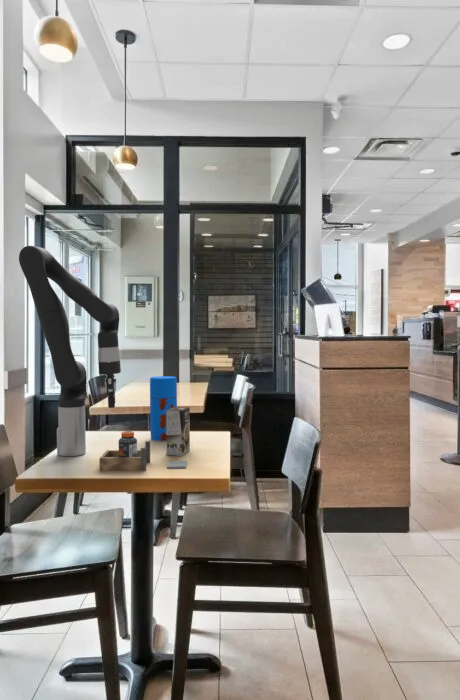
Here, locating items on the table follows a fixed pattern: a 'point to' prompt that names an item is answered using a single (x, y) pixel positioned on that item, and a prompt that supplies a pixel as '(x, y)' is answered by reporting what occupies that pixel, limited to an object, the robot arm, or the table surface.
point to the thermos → (161, 404)
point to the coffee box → (178, 431)
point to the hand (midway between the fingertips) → (112, 405)
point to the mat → (177, 464)
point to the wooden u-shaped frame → (125, 460)
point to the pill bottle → (127, 445)
